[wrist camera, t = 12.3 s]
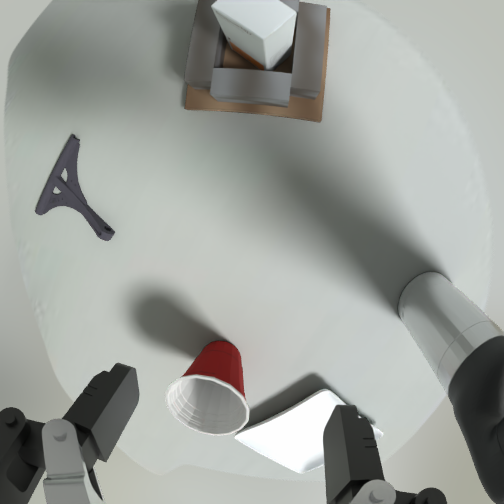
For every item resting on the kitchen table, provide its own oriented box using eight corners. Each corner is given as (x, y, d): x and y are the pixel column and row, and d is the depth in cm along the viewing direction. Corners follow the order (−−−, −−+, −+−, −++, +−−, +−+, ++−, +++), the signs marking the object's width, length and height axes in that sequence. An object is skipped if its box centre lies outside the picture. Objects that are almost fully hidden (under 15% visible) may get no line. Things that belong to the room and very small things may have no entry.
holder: (328, 12, 27) (336, -8, 21) (319, 122, 32) (327, 116, 26) (205, 3, 27) (194, -17, 22) (187, 110, 32) (171, 102, 27)
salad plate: (301, 464, 53) (301, 475, 50) (233, 425, 49) (230, 438, 46) (383, 423, 47) (386, 435, 44) (324, 374, 43) (326, 388, 40)
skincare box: (229, 49, 29) (207, 5, 17) (254, 27, 27) (243, -24, 16) (268, 78, 29) (263, 41, 18) (292, 55, 28) (299, 10, 17)
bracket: (95, 267, 41) (86, 274, 38) (39, 208, 39) (28, 211, 36) (142, 196, 37) (133, 199, 34) (76, 134, 35) (65, 134, 32)
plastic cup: (231, 313, 41) (215, 368, 29) (269, 365, 43) (266, 424, 32) (173, 340, 43) (146, 392, 32) (213, 386, 46) (197, 441, 34)
